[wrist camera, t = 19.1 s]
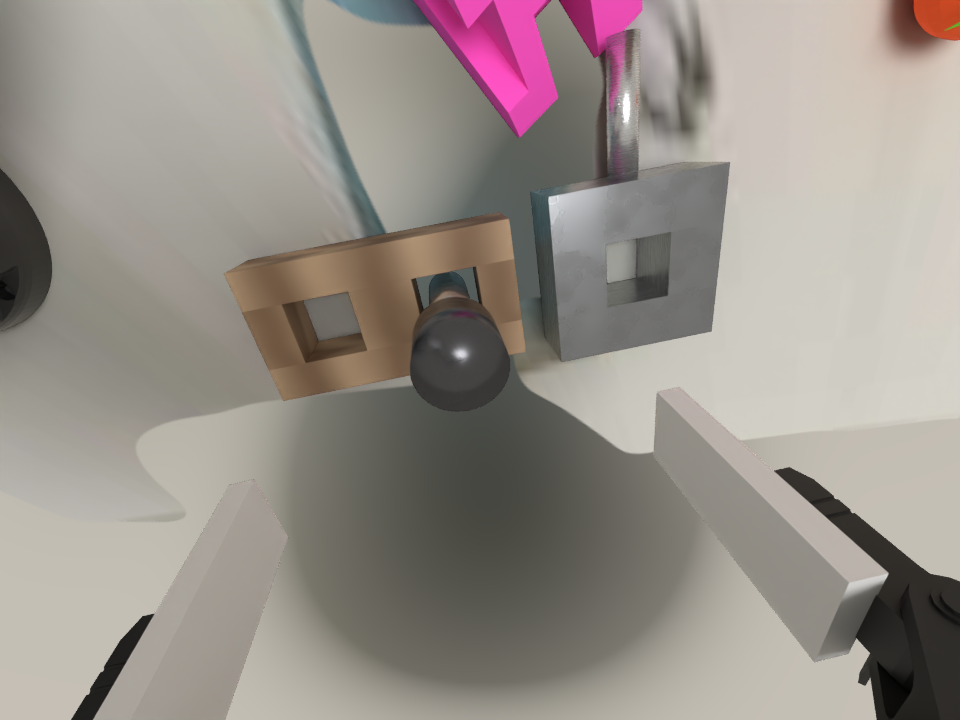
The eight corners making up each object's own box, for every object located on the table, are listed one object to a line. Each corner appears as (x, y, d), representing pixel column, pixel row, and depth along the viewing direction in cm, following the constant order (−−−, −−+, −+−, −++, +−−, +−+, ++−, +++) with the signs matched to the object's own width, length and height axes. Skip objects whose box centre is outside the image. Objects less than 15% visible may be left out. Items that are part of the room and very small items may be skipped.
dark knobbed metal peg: (424, 323, 33) (422, 420, 21) (409, 264, 31) (398, 333, 19) (482, 312, 34) (515, 400, 21) (472, 252, 31) (502, 312, 19)
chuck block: (544, 336, 35) (561, 362, 31) (517, 61, 26) (535, 40, 22) (676, 310, 36) (711, 331, 31) (693, 29, 27) (747, 2, 22)
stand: (298, 376, 34) (283, 400, 31) (248, 260, 30) (223, 273, 26) (515, 332, 35) (525, 351, 31) (499, 211, 30) (508, 218, 27)
